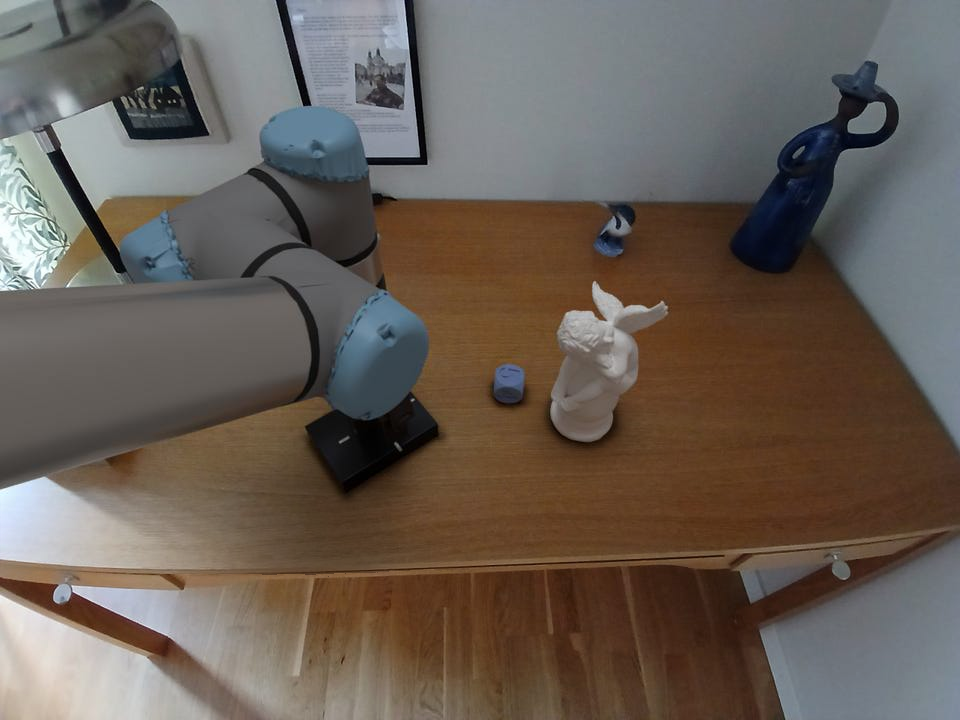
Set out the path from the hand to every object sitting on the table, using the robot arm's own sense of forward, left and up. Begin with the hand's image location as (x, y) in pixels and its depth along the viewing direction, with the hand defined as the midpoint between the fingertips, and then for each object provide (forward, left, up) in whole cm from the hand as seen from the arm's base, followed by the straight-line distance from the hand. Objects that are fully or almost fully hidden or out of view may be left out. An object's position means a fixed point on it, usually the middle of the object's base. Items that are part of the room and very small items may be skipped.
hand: (375, 410), depth 70 cm
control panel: (-1, 0, -5) cm, 5 cm away
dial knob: (0, 0, -2) cm, 2 cm away
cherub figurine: (+25, -13, -6) cm, 29 cm away
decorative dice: (+18, -5, -6) cm, 19 cm away
